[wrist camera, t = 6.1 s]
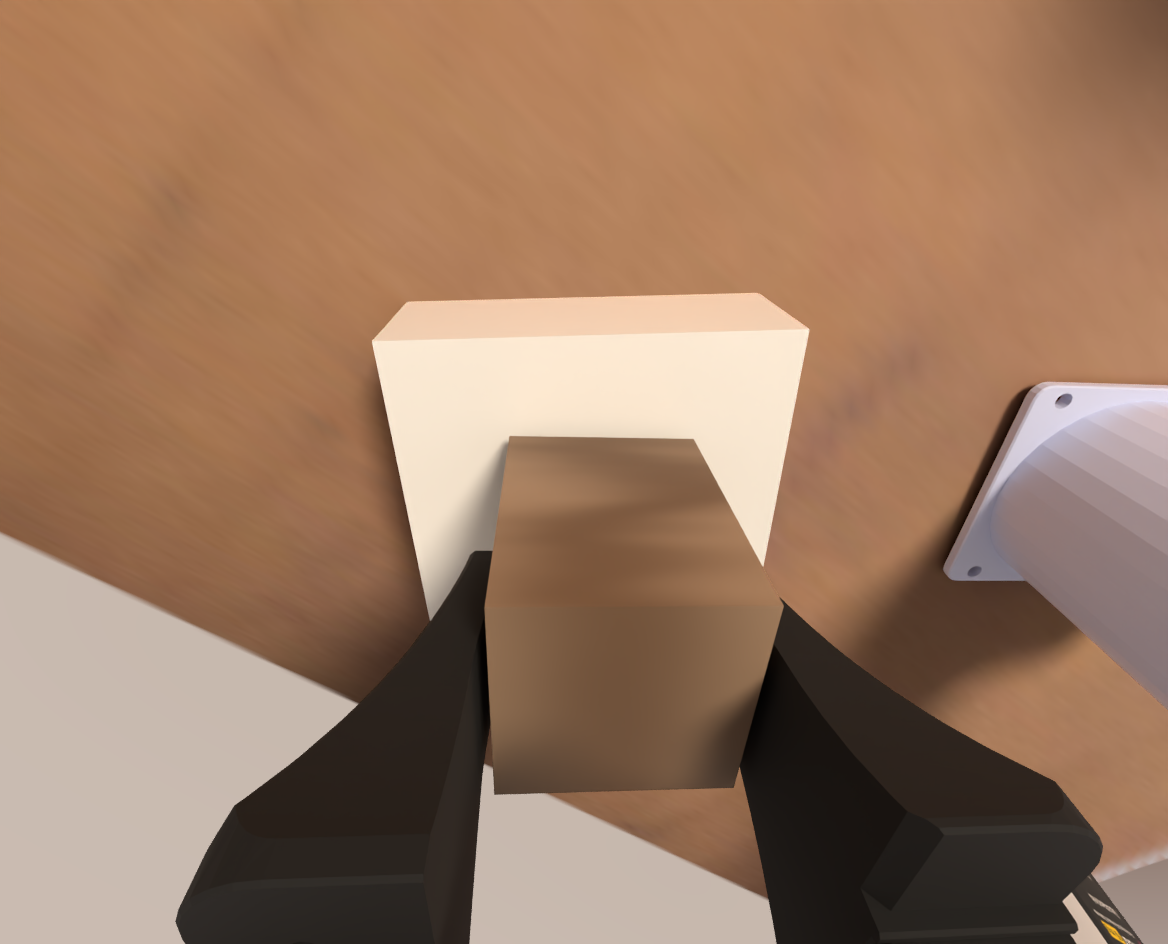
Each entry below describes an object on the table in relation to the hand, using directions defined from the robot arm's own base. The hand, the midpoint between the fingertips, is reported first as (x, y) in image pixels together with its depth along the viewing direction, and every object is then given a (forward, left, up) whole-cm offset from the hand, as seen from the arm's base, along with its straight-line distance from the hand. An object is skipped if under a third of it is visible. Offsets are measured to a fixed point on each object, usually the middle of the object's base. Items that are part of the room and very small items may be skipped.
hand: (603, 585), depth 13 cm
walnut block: (0, 0, -2) cm, 2 cm away
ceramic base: (0, 0, -7) cm, 7 cm away
